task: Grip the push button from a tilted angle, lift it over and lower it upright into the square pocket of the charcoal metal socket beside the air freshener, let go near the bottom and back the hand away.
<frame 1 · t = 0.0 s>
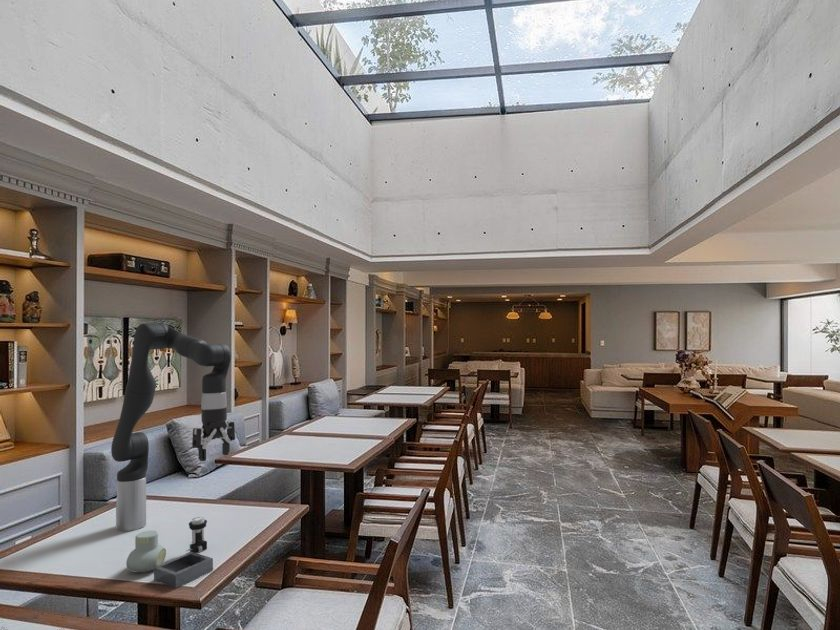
hand: (214, 457, 164), 29 cm above the table, tool pointing down, fingers open, 8 cm apart
air freshener: (146, 568, 152), on the table
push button: (196, 552, 163), on the table
square socket: (183, 575, 147), on the table
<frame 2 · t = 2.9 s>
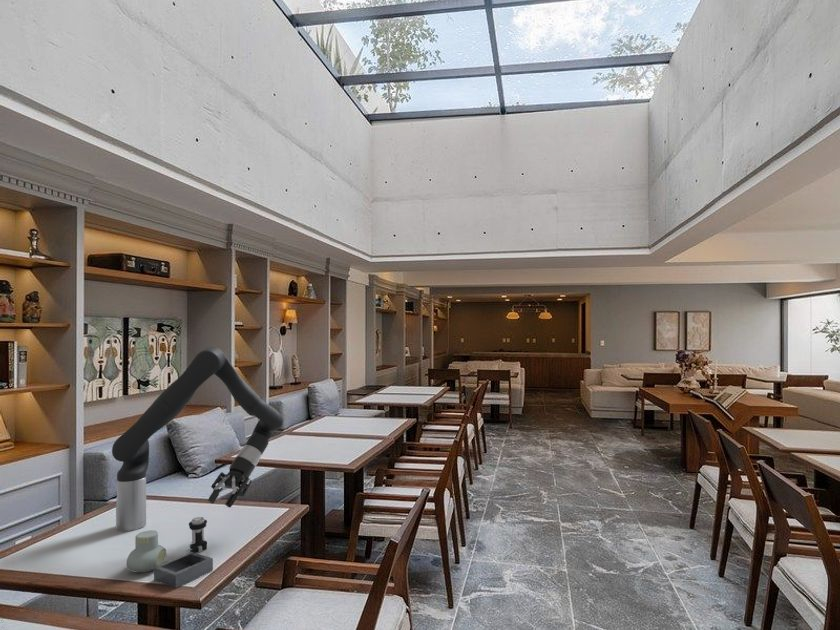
hand: (218, 504, 171), 12 cm above the table, tool tilted 45°, fingers open, 8 cm apart
nothing on the table moved.
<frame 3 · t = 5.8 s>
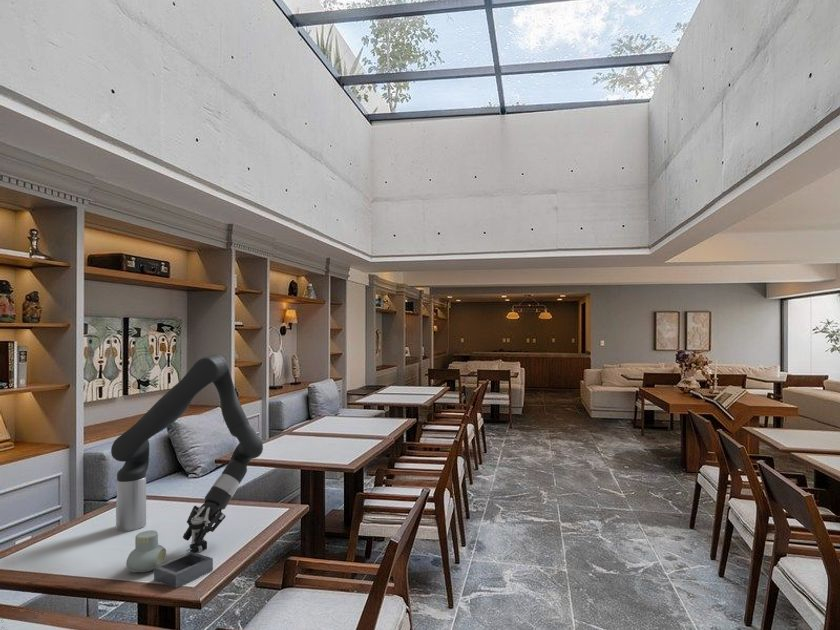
hand: (190, 540, 162), 4 cm above the table, tool tilted 45°, fingers closed on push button, 4 cm apart
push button: (196, 552, 163), on the table, touching gripper
everything else where it was.
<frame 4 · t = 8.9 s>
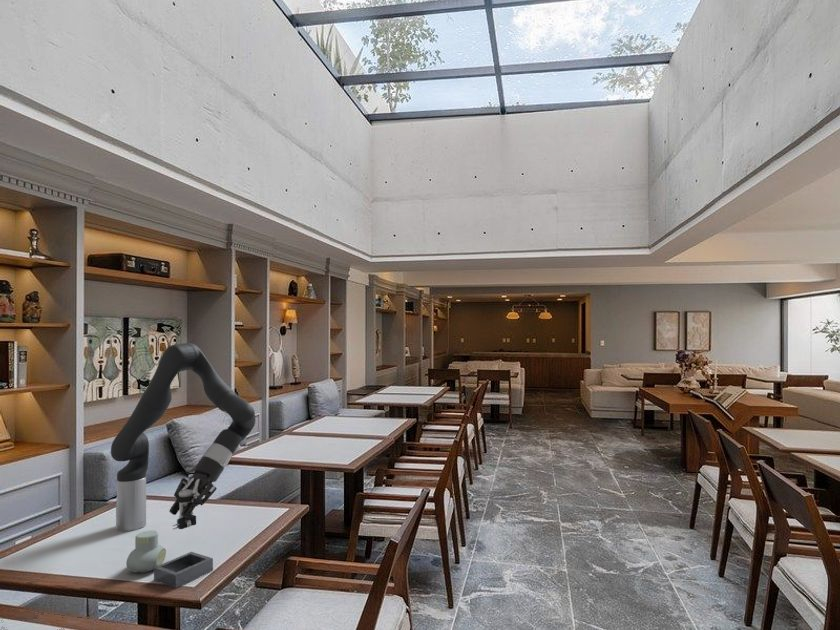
hand: (178, 514, 146), 18 cm above the table, tool tilted 45°, fingers closed on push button, 4 cm apart
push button: (184, 527, 148), point 13 cm above the table, touching gripper
everything else where it was.
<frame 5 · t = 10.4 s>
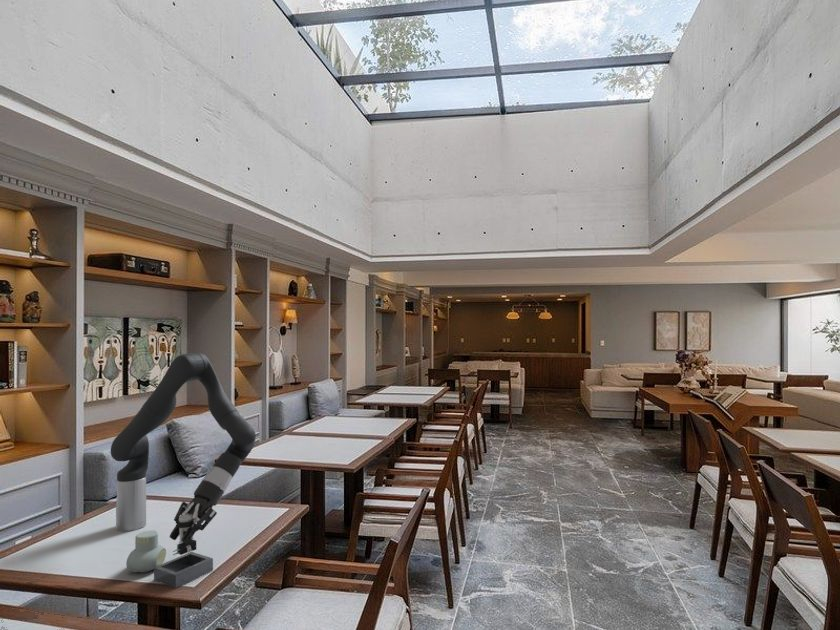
hand: (178, 540, 146), 11 cm above the table, tool tilted 45°, fingers closed on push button, 4 cm apart
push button: (184, 553, 147), point 6 cm above the table, touching gripper
everything else where it was.
when the fingers open (5 cm above the table, at t = 12.0 s): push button drops 1 cm, resting in square socket.
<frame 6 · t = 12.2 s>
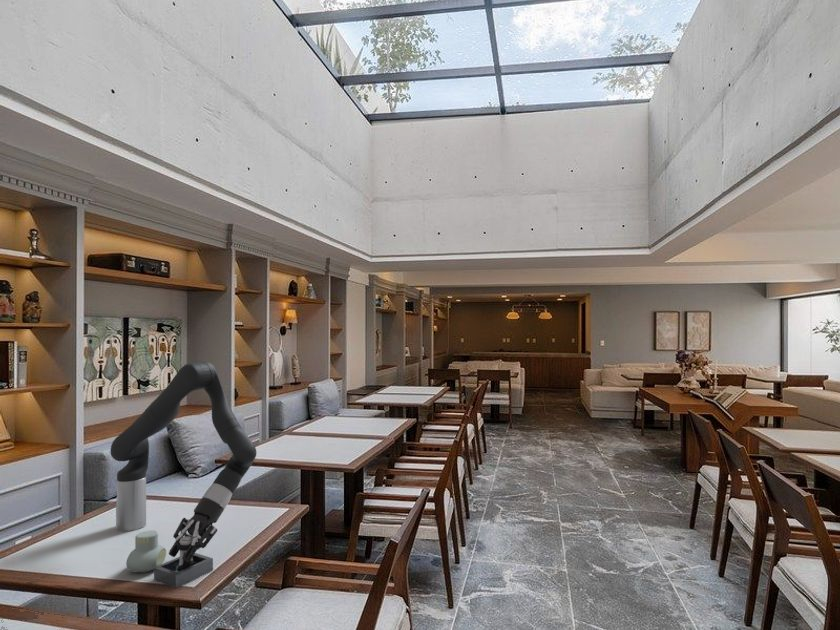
hand: (178, 557, 146), 6 cm above the table, tool tilted 45°, fingers open, 5 cm apart
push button: (183, 574, 148), resting in square socket, touching gripper
everything else where it was.
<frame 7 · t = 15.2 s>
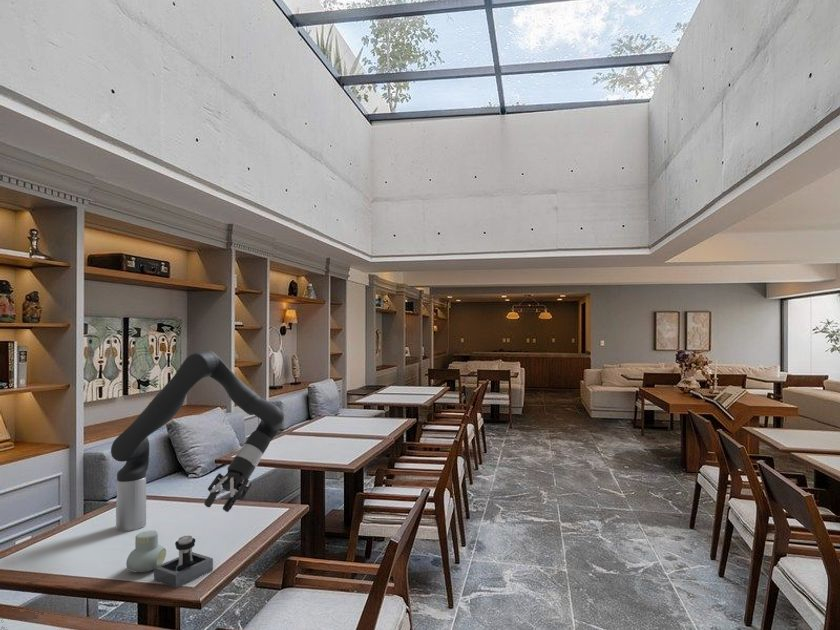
hand: (215, 508, 157), 16 cm above the table, tool tilted 45°, fingers open, 8 cm apart
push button: (183, 574, 148), resting in square socket
everything else where it was.
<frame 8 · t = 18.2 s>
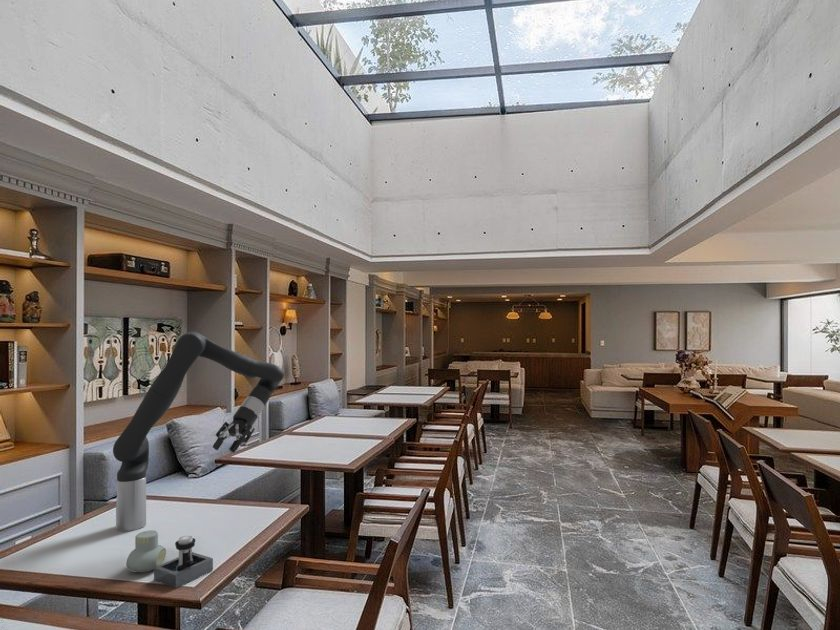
hand: (223, 450, 178), 29 cm above the table, tool tilted 45°, fingers open, 8 cm apart
nothing on the table moved.
at the end: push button 0.9 cm off-centre on the square socket, point 0.0 cm above the square socket's base; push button tilted 0°; the gripper is holding nothing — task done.
